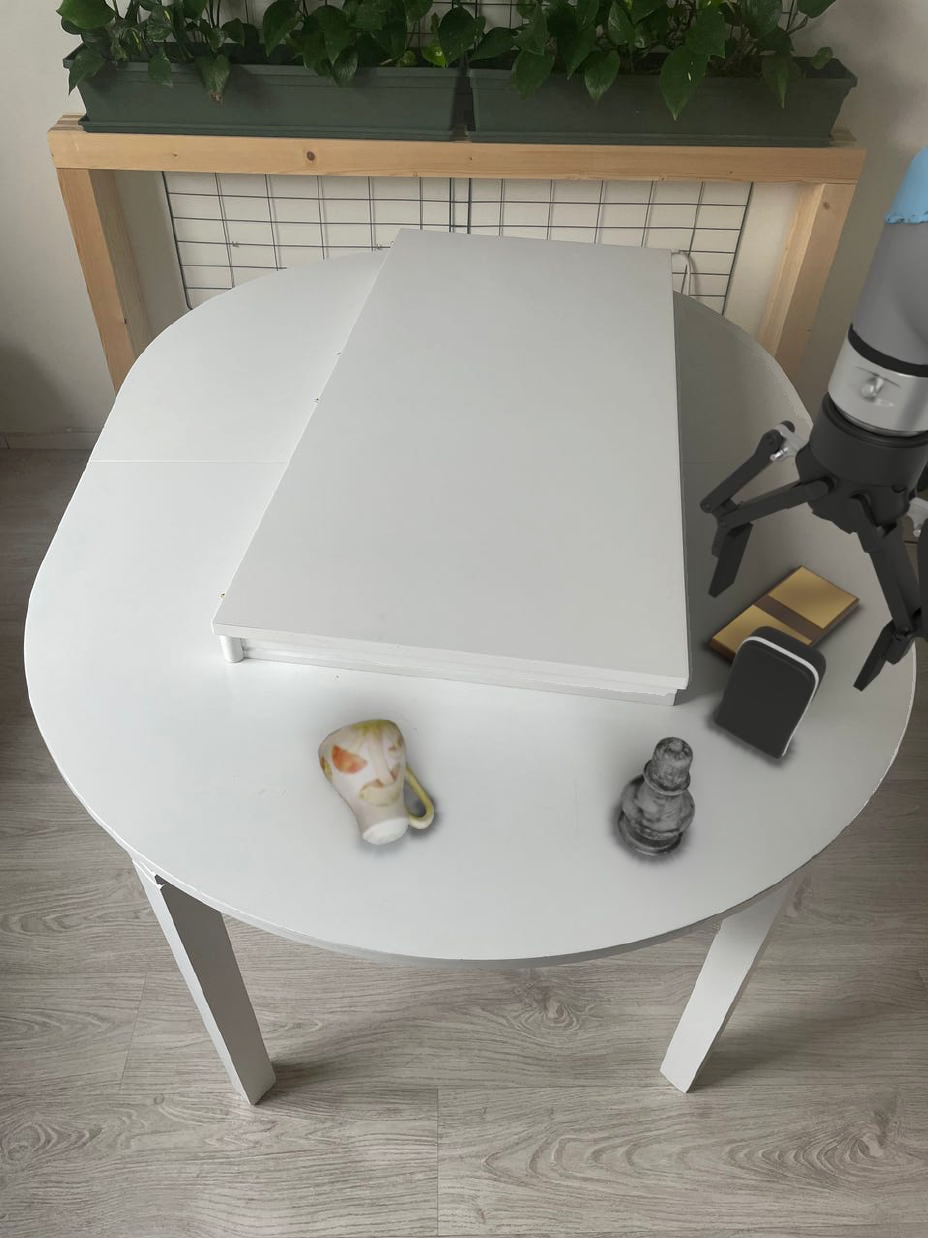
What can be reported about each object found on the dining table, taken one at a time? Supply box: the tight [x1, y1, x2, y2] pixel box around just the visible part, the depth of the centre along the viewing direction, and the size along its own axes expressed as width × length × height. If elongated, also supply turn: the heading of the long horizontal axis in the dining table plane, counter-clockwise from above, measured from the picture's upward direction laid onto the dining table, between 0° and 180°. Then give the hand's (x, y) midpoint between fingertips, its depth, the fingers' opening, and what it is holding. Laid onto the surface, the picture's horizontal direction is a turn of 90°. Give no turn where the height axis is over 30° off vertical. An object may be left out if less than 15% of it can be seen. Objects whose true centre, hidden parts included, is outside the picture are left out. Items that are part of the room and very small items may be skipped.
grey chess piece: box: [617, 736, 696, 857], centre depth 72 cm, size 6×6×12 cm
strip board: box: [709, 565, 860, 663], centre depth 93 cm, size 7×16×1 cm, turn 133°
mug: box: [317, 718, 435, 846], centre depth 75 cm, size 8×10×10 cm
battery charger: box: [713, 626, 827, 759], centre depth 80 cm, size 7×4×11 cm, turn 51°
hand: (790, 632), depth 75 cm, fingers open, 13 cm apart
